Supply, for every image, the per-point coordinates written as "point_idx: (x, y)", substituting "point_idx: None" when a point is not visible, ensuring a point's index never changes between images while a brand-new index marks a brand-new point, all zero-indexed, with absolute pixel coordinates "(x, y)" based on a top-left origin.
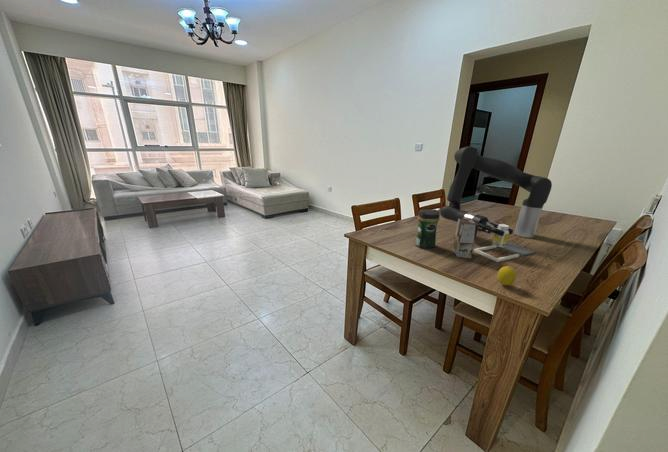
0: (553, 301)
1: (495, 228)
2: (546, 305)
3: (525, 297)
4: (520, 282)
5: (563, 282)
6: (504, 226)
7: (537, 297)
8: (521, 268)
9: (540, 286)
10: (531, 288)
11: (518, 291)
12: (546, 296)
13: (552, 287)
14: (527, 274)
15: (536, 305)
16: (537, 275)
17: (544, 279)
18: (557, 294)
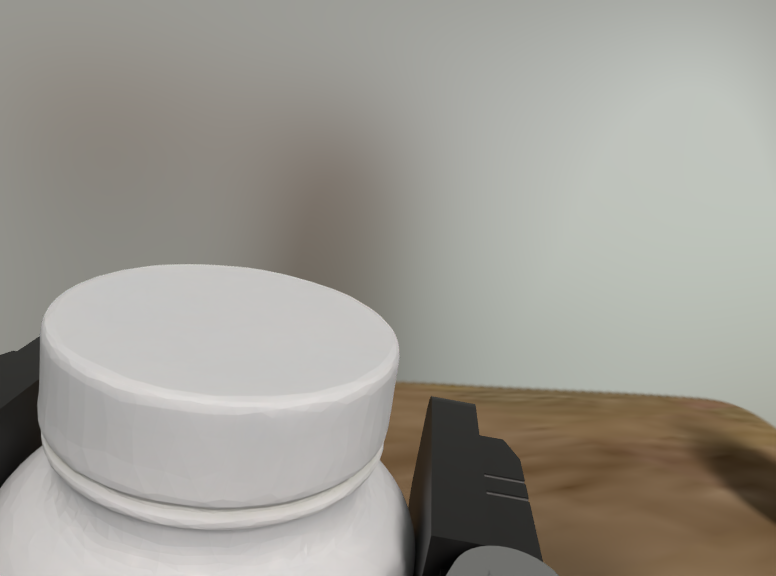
0: (625, 393)
1: (498, 550)
2: (697, 403)
3: (766, 454)
4: (655, 502)
5: None
6: (350, 303)
7: (686, 428)
8: None
9: (549, 436)
10: (638, 456)
11: (767, 483)
12: (621, 410)
13: (481, 406)
14: None
15: (755, 421)
16: (398, 468)
17: (416, 437)
18: (534, 390)
